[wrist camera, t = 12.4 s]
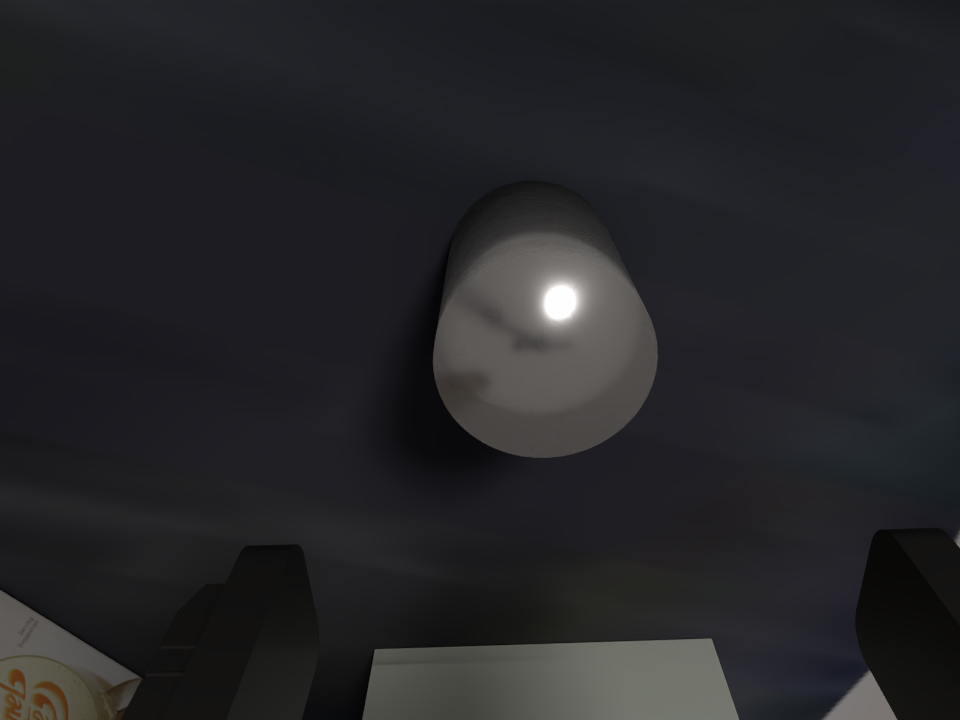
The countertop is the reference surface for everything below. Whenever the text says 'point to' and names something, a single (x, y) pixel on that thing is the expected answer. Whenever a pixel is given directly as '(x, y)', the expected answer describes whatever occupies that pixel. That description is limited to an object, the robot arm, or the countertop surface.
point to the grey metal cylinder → (540, 325)
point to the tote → (551, 682)
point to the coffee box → (56, 671)
